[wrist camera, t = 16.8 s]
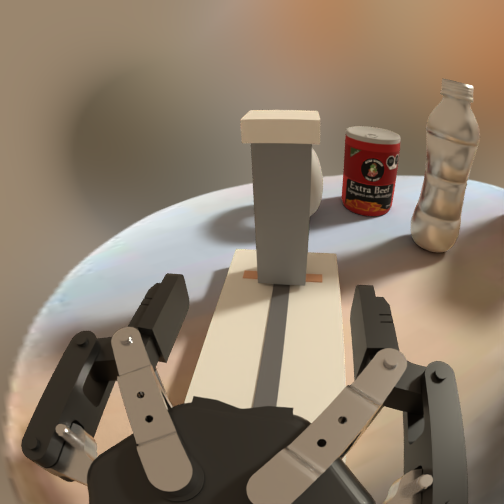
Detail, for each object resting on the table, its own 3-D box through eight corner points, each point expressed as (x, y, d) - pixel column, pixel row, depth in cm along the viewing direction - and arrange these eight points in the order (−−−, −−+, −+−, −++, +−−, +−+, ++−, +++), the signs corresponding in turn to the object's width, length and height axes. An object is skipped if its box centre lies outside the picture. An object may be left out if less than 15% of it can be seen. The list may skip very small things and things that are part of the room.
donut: (325, 230, 38) (330, 151, 32) (298, 234, 37) (300, 153, 32) (298, 197, 46) (298, 132, 40) (276, 200, 45) (274, 133, 40)
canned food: (339, 213, 41) (345, 135, 35) (342, 191, 47) (346, 123, 41) (393, 221, 39) (405, 142, 33) (388, 197, 45) (396, 130, 39)
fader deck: (334, 269, 31) (336, 253, 30) (337, 495, 13) (345, 489, 12) (237, 264, 33) (235, 248, 31) (172, 476, 15) (162, 467, 14)
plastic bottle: (459, 244, 34) (489, 91, 22) (443, 267, 30) (480, 87, 19) (419, 225, 38) (439, 78, 27) (397, 244, 34) (420, 73, 23)
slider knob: (311, 261, 29) (317, 110, 21) (311, 289, 25) (320, 120, 18) (257, 258, 29) (250, 110, 22) (251, 286, 26) (240, 119, 18)
